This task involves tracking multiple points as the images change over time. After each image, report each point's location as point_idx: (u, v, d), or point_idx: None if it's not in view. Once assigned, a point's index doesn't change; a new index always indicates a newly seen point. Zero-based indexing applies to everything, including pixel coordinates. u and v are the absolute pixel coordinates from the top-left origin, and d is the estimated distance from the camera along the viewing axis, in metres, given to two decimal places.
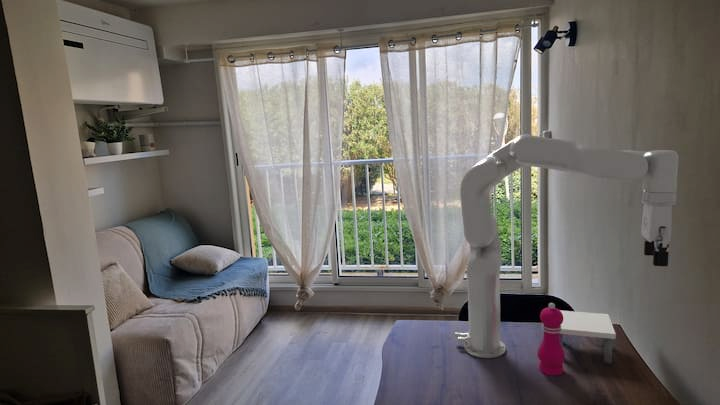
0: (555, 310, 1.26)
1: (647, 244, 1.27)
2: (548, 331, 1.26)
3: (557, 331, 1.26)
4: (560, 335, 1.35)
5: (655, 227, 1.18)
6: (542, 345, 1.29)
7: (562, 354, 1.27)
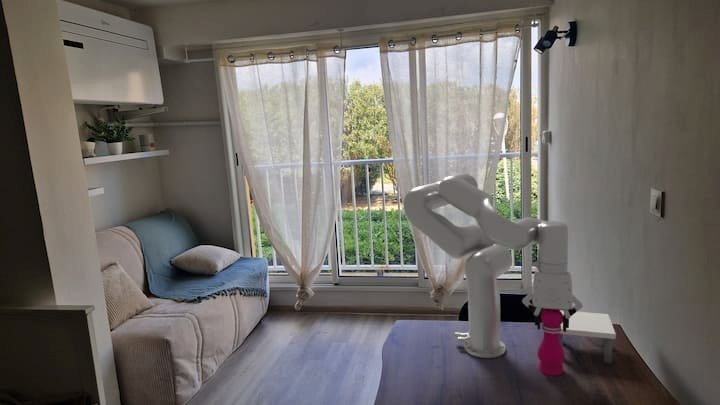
0: (555, 310, 1.26)
1: None
2: (548, 331, 1.26)
3: (557, 331, 1.26)
4: (560, 335, 1.35)
5: (572, 294, 1.23)
6: (542, 345, 1.29)
7: (562, 354, 1.27)
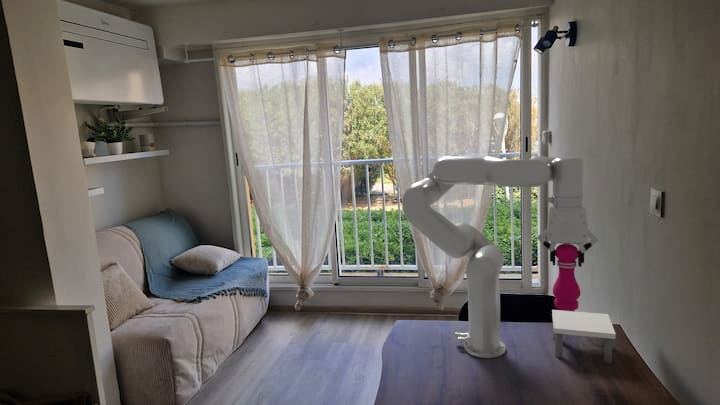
0: (570, 245, 1.27)
1: None
2: (563, 266, 1.27)
3: (572, 266, 1.27)
4: (560, 335, 1.35)
5: (587, 228, 1.24)
6: (557, 281, 1.30)
7: (577, 289, 1.28)
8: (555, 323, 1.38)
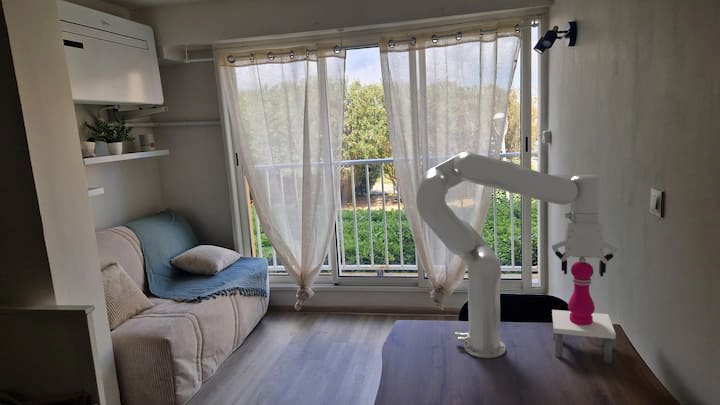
0: (585, 263, 1.34)
1: None
2: (579, 283, 1.35)
3: (588, 283, 1.34)
4: (560, 335, 1.35)
5: (603, 242, 1.31)
6: (573, 297, 1.37)
7: (592, 305, 1.35)
8: (555, 323, 1.38)
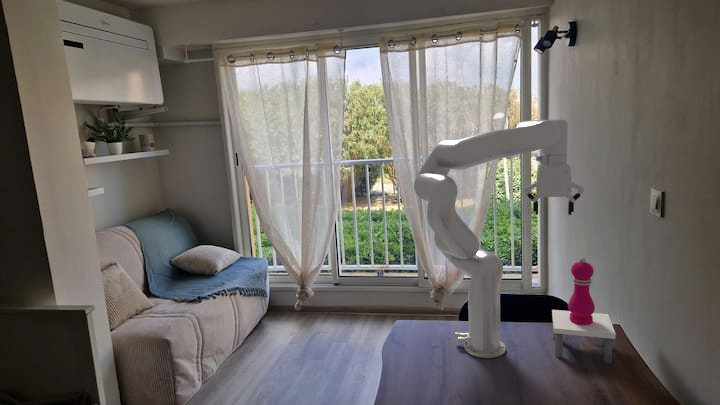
0: (586, 263, 1.34)
1: None
2: (579, 283, 1.35)
3: (588, 283, 1.34)
4: (560, 335, 1.35)
5: (571, 182, 1.40)
6: (573, 297, 1.37)
7: (592, 305, 1.35)
8: (555, 323, 1.38)
